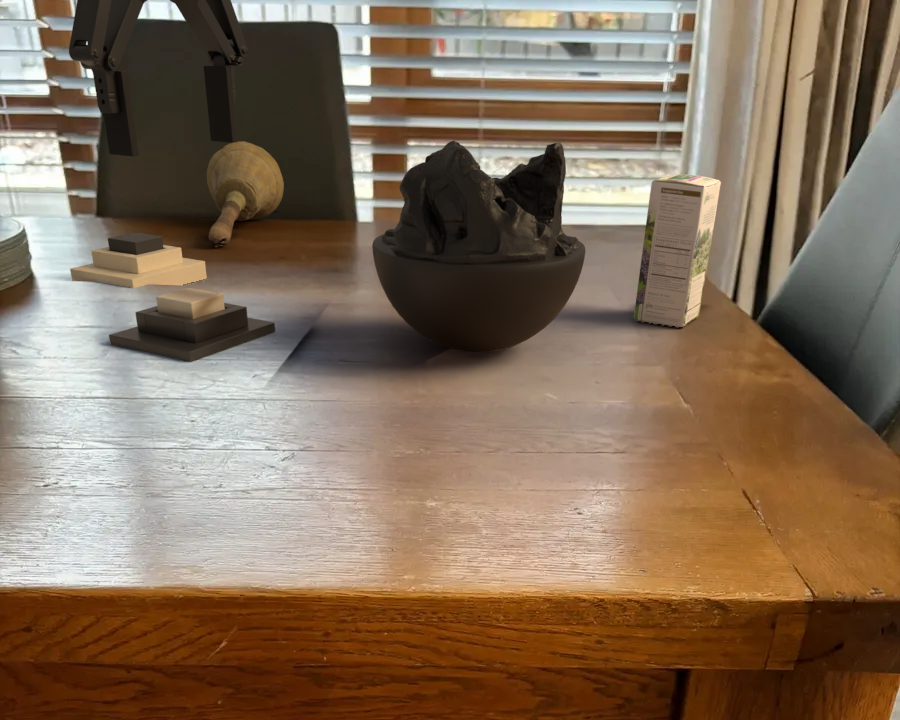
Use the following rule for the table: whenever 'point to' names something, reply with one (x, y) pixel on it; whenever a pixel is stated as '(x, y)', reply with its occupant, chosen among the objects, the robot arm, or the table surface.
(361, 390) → the table surface
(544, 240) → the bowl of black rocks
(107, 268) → the stepped ziggurat stack
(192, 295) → the key near
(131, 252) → the key far
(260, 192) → the handbell
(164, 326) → the tiered square pedestal
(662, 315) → the syrup box
